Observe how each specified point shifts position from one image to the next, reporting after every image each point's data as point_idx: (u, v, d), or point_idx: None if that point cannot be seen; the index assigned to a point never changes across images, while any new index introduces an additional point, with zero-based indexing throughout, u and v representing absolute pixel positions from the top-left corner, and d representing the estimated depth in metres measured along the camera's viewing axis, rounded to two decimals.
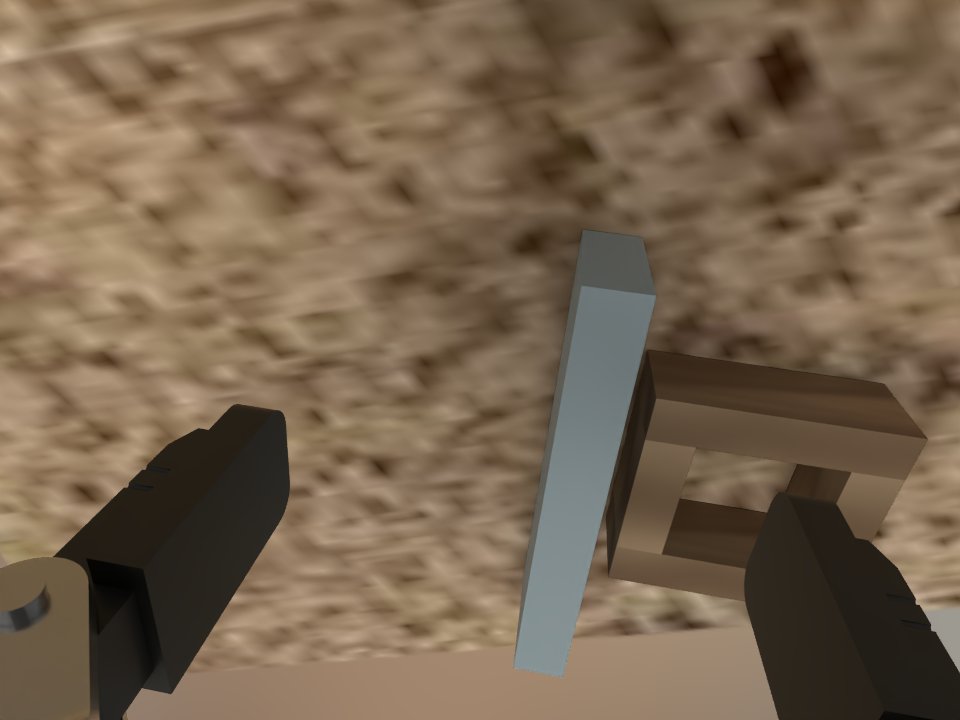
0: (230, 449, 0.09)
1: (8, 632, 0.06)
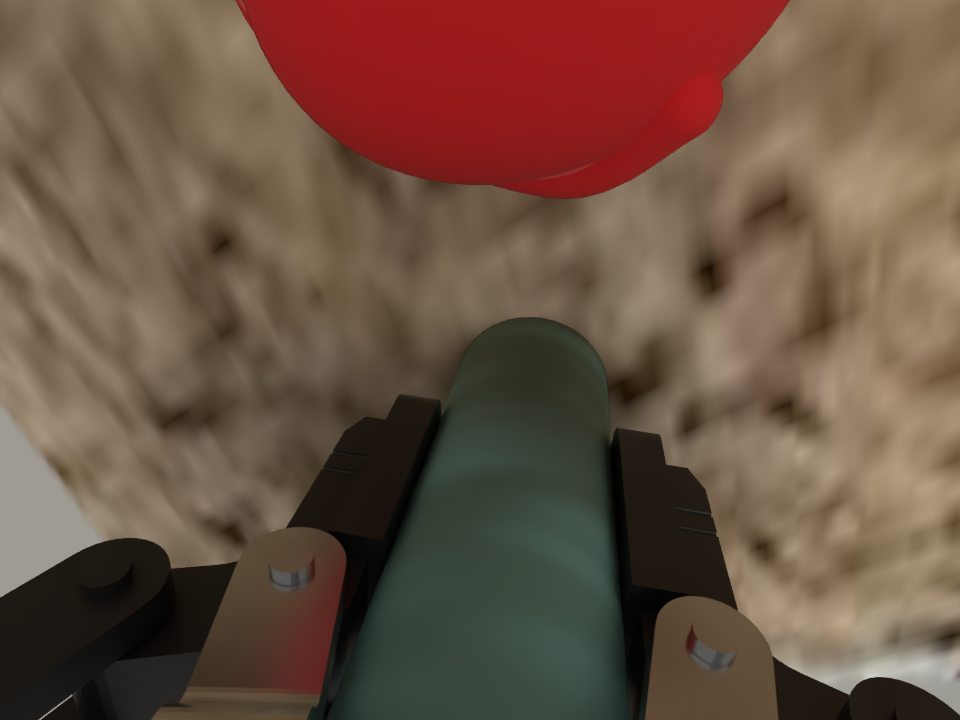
0: (413, 435, 0.10)
1: (294, 593, 0.07)
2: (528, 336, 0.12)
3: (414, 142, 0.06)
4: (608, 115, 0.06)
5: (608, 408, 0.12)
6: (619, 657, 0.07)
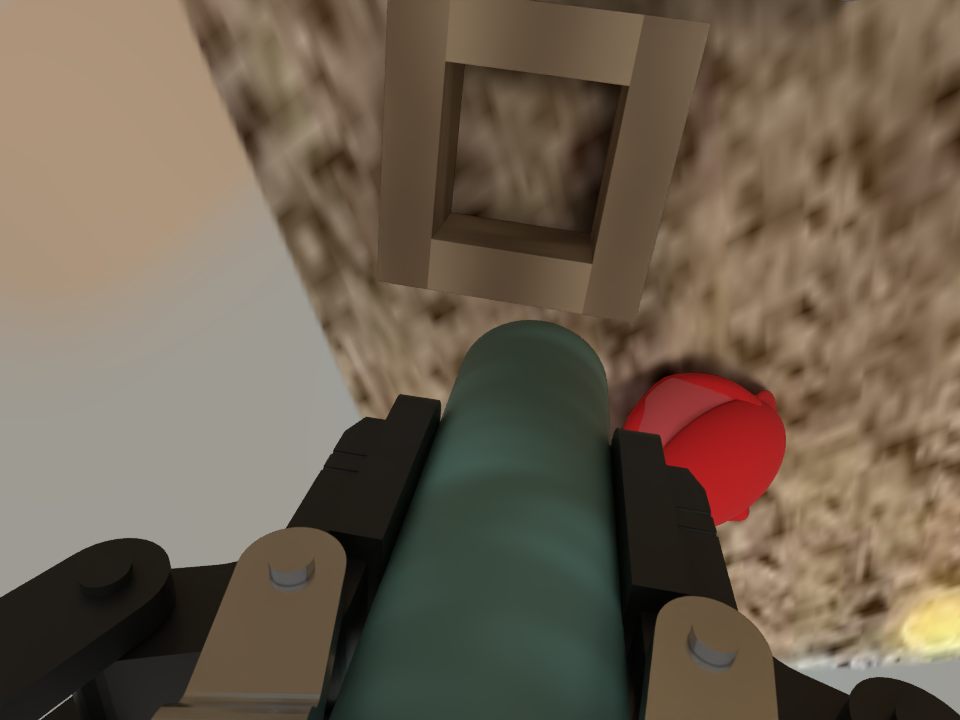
0: (413, 435, 0.10)
1: (294, 592, 0.07)
2: (529, 338, 0.12)
3: None
4: (721, 523, 0.26)
5: (608, 410, 0.12)
6: (619, 660, 0.07)
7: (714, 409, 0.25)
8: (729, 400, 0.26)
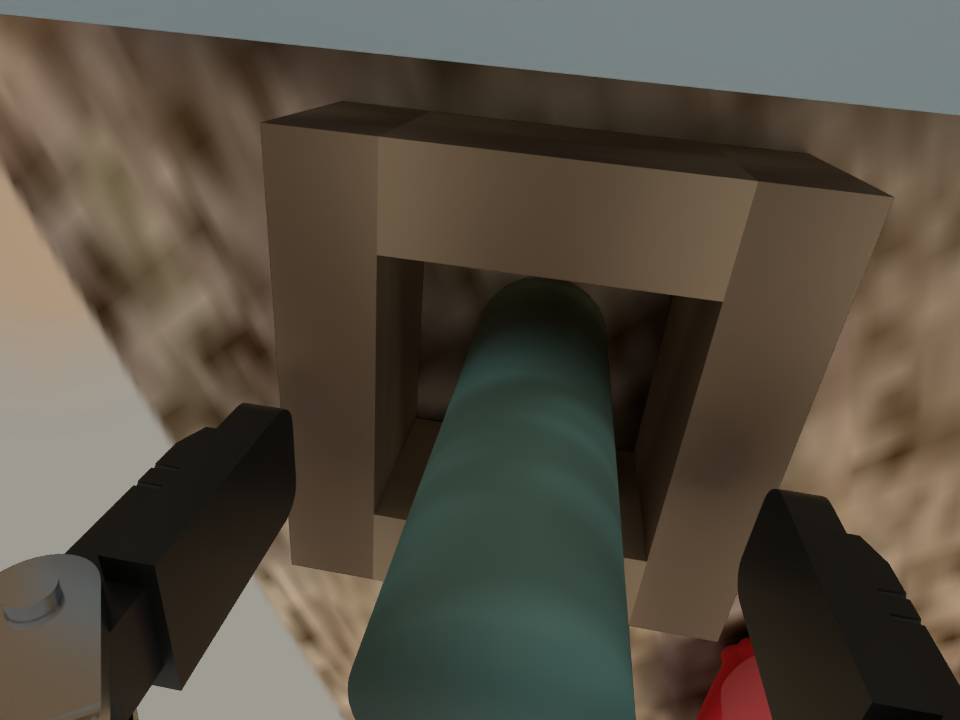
0: (239, 447, 0.09)
1: (23, 628, 0.06)
2: (540, 290, 0.14)
3: None
4: None
5: (607, 351, 0.14)
6: (615, 506, 0.09)
7: None
8: None
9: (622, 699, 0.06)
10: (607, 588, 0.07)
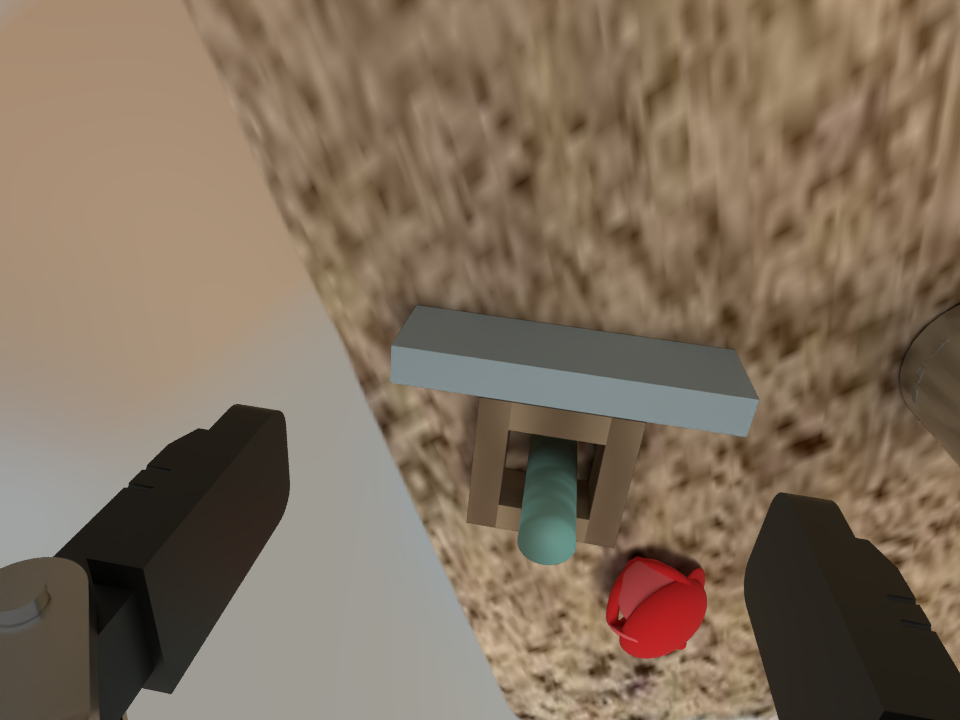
0: (230, 449, 0.09)
1: (8, 633, 0.06)
2: None
3: None
4: None
5: (576, 449, 0.42)
6: (574, 501, 0.37)
7: (662, 588, 0.43)
8: (671, 582, 0.44)
9: (572, 537, 0.34)
10: (570, 518, 0.35)
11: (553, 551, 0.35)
